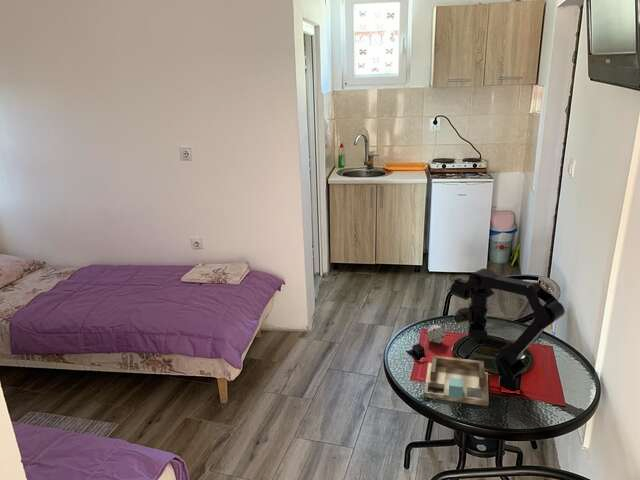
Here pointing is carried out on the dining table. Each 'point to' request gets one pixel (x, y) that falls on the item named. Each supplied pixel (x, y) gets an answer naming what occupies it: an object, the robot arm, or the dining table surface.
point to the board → (470, 385)
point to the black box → (417, 352)
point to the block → (456, 388)
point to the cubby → (458, 366)
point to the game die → (436, 333)
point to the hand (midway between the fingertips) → (476, 342)
